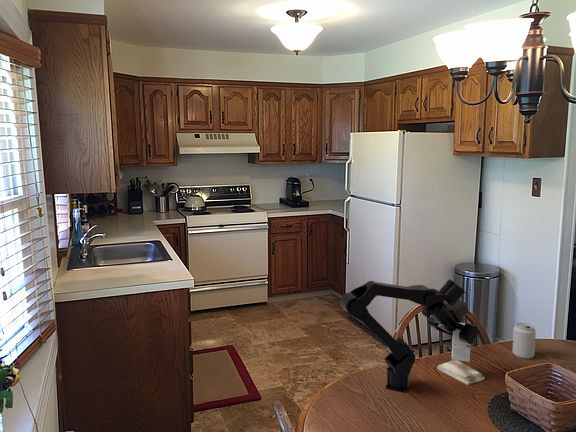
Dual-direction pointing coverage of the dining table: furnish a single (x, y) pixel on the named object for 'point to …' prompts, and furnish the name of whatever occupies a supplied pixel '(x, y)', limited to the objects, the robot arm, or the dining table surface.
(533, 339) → the can
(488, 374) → the dining table surface
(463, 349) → the skincare box
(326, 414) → the dining table surface
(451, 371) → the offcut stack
